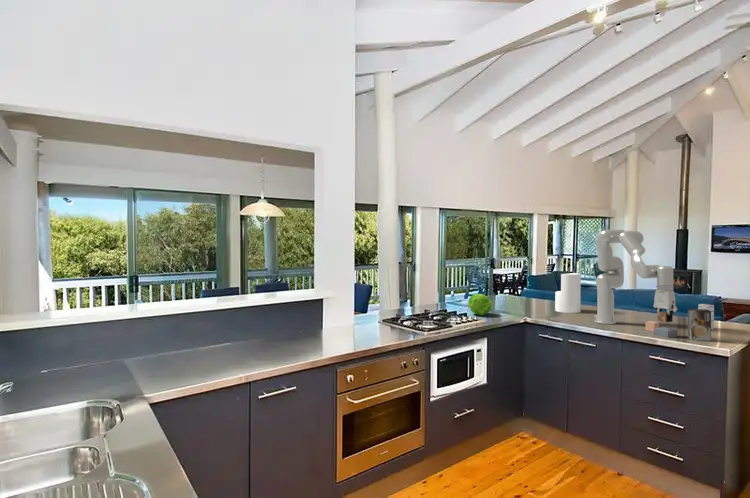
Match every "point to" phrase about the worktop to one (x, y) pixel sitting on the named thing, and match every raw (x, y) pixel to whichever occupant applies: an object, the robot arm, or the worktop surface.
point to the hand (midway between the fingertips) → (665, 320)
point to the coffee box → (699, 324)
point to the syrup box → (711, 308)
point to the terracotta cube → (651, 325)
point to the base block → (666, 332)
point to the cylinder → (569, 294)
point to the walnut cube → (662, 316)
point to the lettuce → (479, 304)
